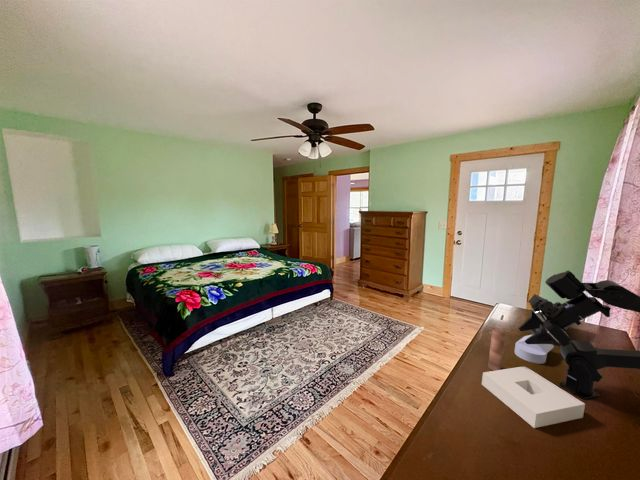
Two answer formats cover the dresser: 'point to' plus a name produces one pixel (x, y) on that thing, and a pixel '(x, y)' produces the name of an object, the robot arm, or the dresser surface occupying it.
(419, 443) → the dresser surface
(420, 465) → the dresser surface
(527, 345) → the wedge on round base
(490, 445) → the dresser surface
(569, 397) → the hole block
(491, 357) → the peg
